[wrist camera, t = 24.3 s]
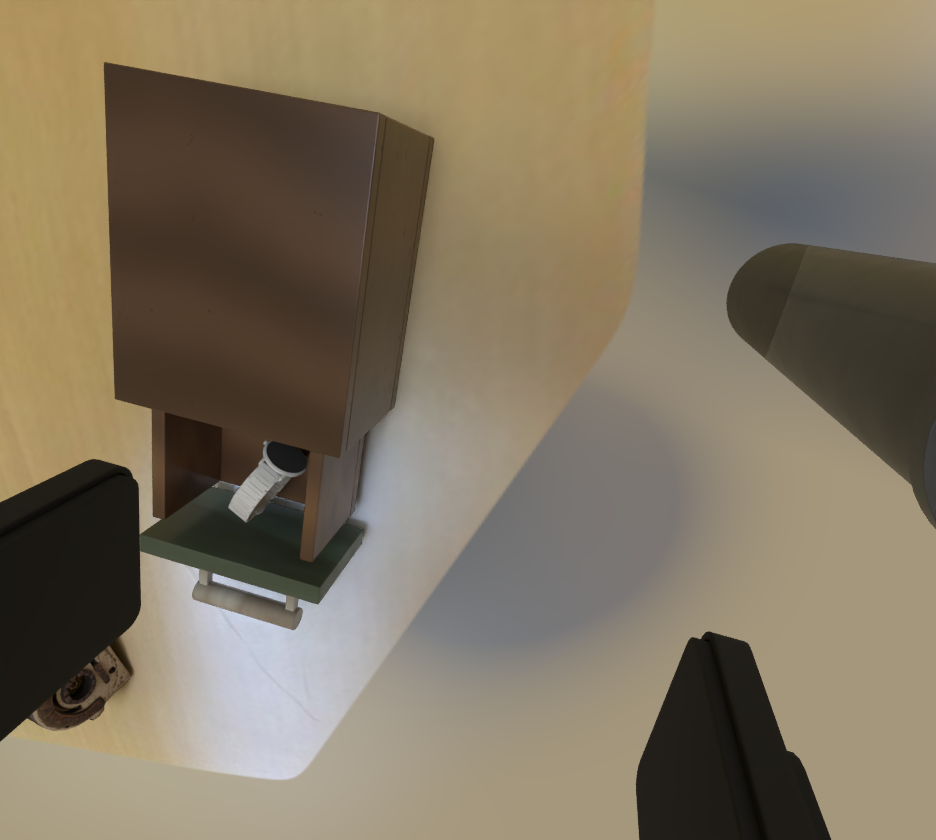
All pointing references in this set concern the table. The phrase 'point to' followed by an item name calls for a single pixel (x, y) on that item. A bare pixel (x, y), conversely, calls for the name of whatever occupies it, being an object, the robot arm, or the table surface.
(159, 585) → the table surface
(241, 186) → the cabinet
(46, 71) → the table surface
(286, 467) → the wristwatch
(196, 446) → the drawer
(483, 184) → the table surface
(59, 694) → the mechanical counter
